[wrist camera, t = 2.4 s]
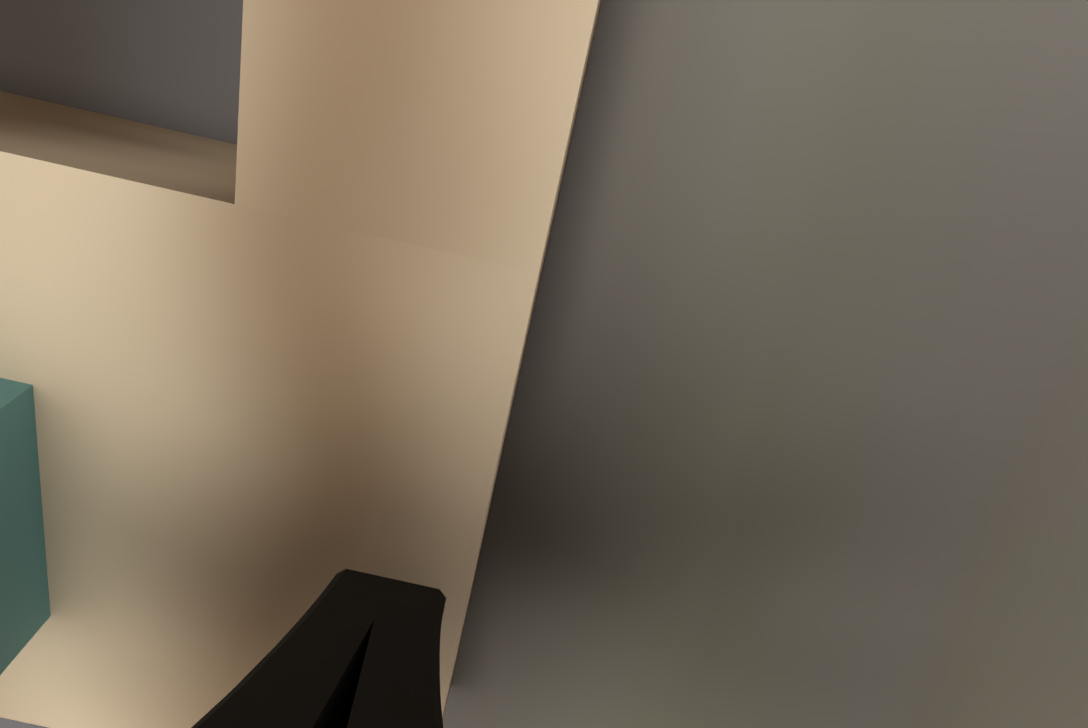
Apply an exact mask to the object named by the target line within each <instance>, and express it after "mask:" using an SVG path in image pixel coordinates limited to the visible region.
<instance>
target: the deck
mask: <svg viewBox="0 0 1088 728" xmlns="http://www.w3.org/2000/svg"><path fill="white" fill-rule="evenodd" d="M600 4H601V0H0V378H4V379H8V380H13V381H17V382H22V383H26V384H31V385H33V394H34V407H35V419H36V432H37V445H38V458H39V471H40V484H41V497H42V510H43V523H44V536H45V549H46V562H47V575H48V588H49V601H50V614H51V616H50V617H49V618H48V620H47V621H46V622H45V623H44V624H43V626H42V627H41V628H40V629H39V630H38V631H37V633H36V634H35V635H34V636H33V637H32V639H31V640H30V641H29V642H28V643H27V644H26V646H25V647H24V648H23V649H22V650H21V651H20V653H19V654H18V655H17V656H16V657H15V659H14V660H13V661H12V662H11V663H10V664H9V666H8V667H7V668H6V669H5V670H4V671H3V673H2V674H1V675H0V717H2V718H7V719H12V720H16V721H21V722H26V723H30V724H35V725H39V726H44V727H49V728H191V727H192V726H194V725H195V724H196V723H197V722H198V721H199V720H200V719H201V718H202V717H203V716H204V715H206V714H207V713H208V712H209V711H210V710H211V709H212V708H213V707H214V706H215V705H216V704H218V703H219V702H220V701H221V700H222V699H223V698H224V697H225V696H226V695H227V694H228V693H229V692H230V691H231V690H232V689H233V688H234V687H235V686H237V685H238V684H239V683H240V681H241V680H242V679H243V678H244V677H245V676H246V675H247V674H248V673H249V672H250V671H251V670H252V669H253V668H254V667H255V666H256V665H257V664H258V663H259V662H260V661H261V660H262V659H263V658H264V657H265V656H266V655H267V654H268V653H269V652H270V651H271V650H272V649H273V648H274V647H275V646H276V645H277V644H278V643H279V641H280V640H281V639H282V638H283V637H284V636H285V635H286V634H287V633H288V632H289V630H290V629H291V628H292V627H293V626H294V625H295V624H296V623H297V622H298V621H299V619H300V618H301V617H302V616H303V615H304V614H305V613H306V611H307V610H308V609H309V608H310V607H311V605H312V604H313V603H314V602H315V601H316V599H317V598H318V597H319V596H320V595H321V593H322V592H323V591H324V590H325V588H326V587H327V586H328V584H329V583H330V582H331V580H332V579H333V578H334V576H335V575H336V574H337V573H339V572H341V571H343V570H345V569H350V570H354V571H359V572H364V573H368V574H373V575H377V576H382V577H386V578H391V579H396V580H400V581H405V582H409V583H414V584H418V585H423V586H428V587H432V588H437V589H440V590H441V592H442V593H443V594H444V596H445V597H446V602H445V607H444V612H443V617H442V623H441V634H440V695H441V709H442V721H443V716H444V712H445V708H446V704H447V699H448V695H449V691H450V686H451V682H452V677H453V673H454V668H455V664H456V659H457V654H458V650H459V645H460V641H461V636H462V632H463V627H464V623H465V618H466V614H467V609H468V604H469V600H470V595H471V591H472V586H473V582H474V577H475V573H476V568H477V563H478V559H479V554H480V550H481V545H482V541H483V536H484V532H485V527H486V523H487V518H488V513H489V509H490V504H491V500H492V495H493V491H494V486H495V482H496V477H497V473H498V468H499V463H500V459H501V454H502V450H503V445H504V441H505V436H506V432H507V427H508V422H509V418H510V413H511V409H512V404H513V400H514V395H515V391H516V386H517V382H518V377H519V372H520V368H521V363H522V359H523V354H524V350H525V345H526V341H527V336H528V332H529V327H530V322H531V318H532V313H533V309H534V304H535V300H536V295H537V291H538V286H539V281H540V277H541V272H542V268H543V263H544V259H545V254H546V250H547V245H548V241H549V236H550V231H551V227H552V222H553V218H554V213H555V209H556V204H557V200H558V195H559V190H560V186H561V181H562V177H563V172H564V168H565V163H566V159H567V154H568V150H569V145H570V140H571V136H572V131H573V127H574V122H575V118H576V113H577V109H578V104H579V100H580V95H581V90H582V86H583V81H584V77H585V72H586V68H587V63H588V59H589V54H590V49H591V45H592V40H593V36H594V31H595V27H596V22H597V18H598V13H599V9H600Z"/></svg>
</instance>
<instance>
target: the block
mask: <svg viewBox="0 0 1088 728" xmlns="http://www.w3.org/2000/svg"><path fill="white" fill-rule="evenodd" d="M50 616H51V614H50V601H49V588H48V575H47V562H46V549H45V536H44V523H43V510H42V497H41V484H40V471H39V458H38V445H37V432H36V419H35V407H34V394H33V385H31V384H26V383H22V382H17V381H13V380H8V379H4V378H0V675H1V674H2V673H3V671H4V670H5V669H6V668H7V667H8V666H9V664H10V663H11V662H12V661H13V660H14V659H15V657H16V656H17V655H18V654H19V653H20V651H21V650H22V649H23V648H24V647H25V646H26V644H27V643H28V642H29V641H30V640H31V639H32V637H33V636H34V635H35V634H36V633H37V631H38V630H39V629H40V628H41V627H42V626H43V624H44V623H45V622H46V621H47V620H48V618H49V617H50Z"/></svg>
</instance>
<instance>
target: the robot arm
mask: <svg viewBox="0 0 1088 728" xmlns="http://www.w3.org/2000/svg"><path fill="white" fill-rule="evenodd" d="M445 602H446V597H445V596H444V594H443V593H442V592H441V590H440V589H437V588H432V587H428V586H423V585H418V584H414V583H409V582H405V581H400V580H396V579H391V578H386V577H382V576H377V575H373V574H368V573H364V572H359V571H354V570H350V569H345V570H343V571H341V572H339V573H337V574H336V575H335V576H334V578H333V579H332V580H331V582H330V583H329V584H328V586H327V587H326V588H325V590H324V591H323V592H322V593H321V595H320V596H319V597H318V598H317V599H316V601H315V602H314V603H313V604H312V605H311V607H310V608H309V609H308V610H307V611H306V613H305V614H304V615H303V616H302V617H301V618H300V619H299V621H298V622H297V623H296V624H295V625H294V626H293V627H292V628H291V629H290V630H289V632H288V633H287V634H286V635H285V636H284V637H283V638H282V639H281V640H280V641H279V643H278V644H277V645H276V646H275V647H274V648H273V649H272V650H271V651H270V652H269V653H268V654H267V655H266V656H265V657H264V658H263V659H262V660H261V661H260V662H259V663H258V664H257V665H256V666H255V667H254V668H253V669H252V670H251V671H250V672H249V673H248V674H247V675H246V676H245V677H244V678H243V679H242V680H241V681H240V683H239V684H238V685H237V686H235V687H234V688H233V689H232V690H231V691H230V692H229V693H228V694H227V695H226V696H225V697H224V698H223V699H222V700H221V701H220V702H219V703H218V704H216V705H215V706H214V707H213V708H212V709H211V710H210V711H209V712H208V713H207V714H206V715H204V716H203V717H202V718H201V719H200V720H199V721H198V722H197V723H196V724H195V725H194V726H192V727H191V728H443V721H442V709H441V695H440V634H441V623H442V617H443V612H444V607H445Z"/></svg>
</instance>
